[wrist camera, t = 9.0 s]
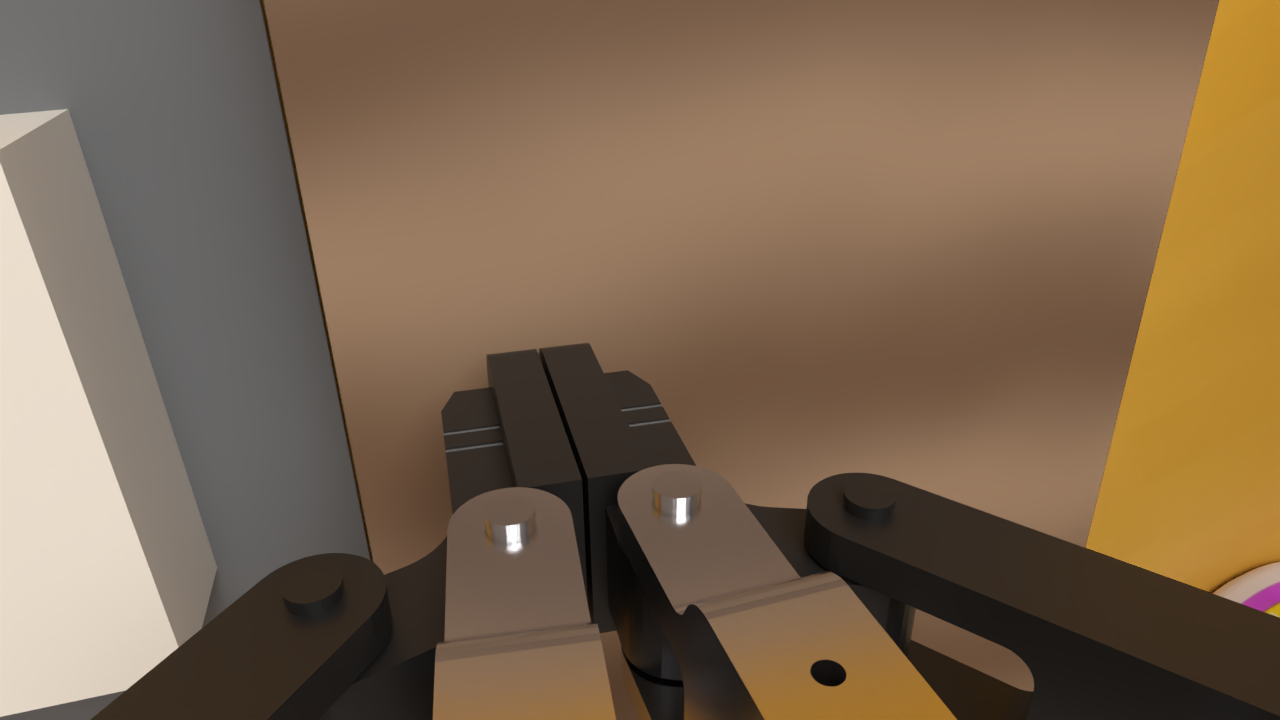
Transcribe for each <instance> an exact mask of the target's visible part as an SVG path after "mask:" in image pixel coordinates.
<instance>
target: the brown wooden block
mask: <svg viewBox="0 0 1280 720" xmlns="http://www.w3.org/2000/svg"><path fill="white" fill-rule="evenodd" d="M263 1H264V6H265V11H266V16H267V21H268V26H269V31H270V37H271V42H272V47H273V52H274V57H275V62H276V67H277V72H278V77H279V82H280V88H281V93H282V98H283V103H284V108H285V113H286V118H287V123H288V128H289V133H290V139H291V144H292V149H293V154H294V159H295V164H296V169H297V174H298V179H299V184H300V190H301V195H302V200H303V205H304V210H305V215H306V220H307V225H308V230H309V235H310V241H311V246H312V251H313V256H314V261H315V266H316V271H317V276H318V281H319V287H320V292H321V297H322V302H323V307H324V312H325V317H326V322H327V327H328V332H329V338H330V343H331V348H332V353H333V358H334V363H335V368H336V373H337V378H338V383H339V389H340V394H341V399H342V404H343V409H344V414H345V419H346V424H347V429H348V434H349V440H350V445H351V450H352V455H353V460H354V465H355V470H356V475H357V480H358V485H359V491H360V496H361V501H362V506H363V511H364V516H365V521H366V526H367V531H368V537H369V542H370V547H371V552H372V557H373V562H374V563H375V564H376V565H377V566H378V567H379V568H380V569H381V570H382V572H383V574H384V575H385V574H388V573H390V572H393V571H395V570H398V569H400V568H403V567H405V566H408V565H410V564H412V563H414V562H416V561H418V560H420V559H421V558H423V557H425V556H426V555H428V554H429V553H430V552H432V551H433V550H434V549H436V548H437V547H438V546H439V545H440V544H441V543H442V541H443V540H444V539H445V538H446V536H447V529H448V524H449V521H450V519H451V517H452V515H453V514H452V505H451V496H450V487H449V478H448V469H447V460H446V451H445V442H444V433H443V424H442V415H441V411H442V409H443V408H444V406H445V405H446V403H447V402H448V400H449V399H450V397H451V396H452V394H453V393H454V392H457V391H465V390H473V389H481V388H489V385H488V374H487V361H486V355H487V354H496V353H504V352H513V351H522V350H530V349H536V350H537V352H538V354H539V349H540V348H546V347H555V346H564V345H572V344H581V343H589V344H590V345H591V348H592V350H593V352H594V354H595V356H596V358H597V360H598V362H599V364H600V366H601V368H602V371H603V373H610V372H618V371H626V370H628V371H630V372H631V373H633V374H634V375H636V376H638V377H639V378H641V379H642V380H644V381H646V382H647V383H649V384H650V385H651V386H652V388H653V390H654V392H655V394H656V395H657V397H658V399H659V401H660V402H661V407H663V408H664V409H665V411H666V413H667V415H668V417H669V421H670V422H672V424H673V425H674V427H675V429H676V431H677V432H678V434H679V436H680V438H681V440H682V441H683V443H684V445H685V447H686V448H687V450H688V452H689V454H690V455H691V457H692V459H693V461H694V463H695V464H696V466H698V467H702V468H705V469H708V470H710V471H713V472H715V473H717V474H718V475H720V476H722V477H723V478H724V479H726V480H727V481H728V482H729V483H730V485H731V486H732V487H733V488H734V490H735V491H736V492H737V494H738V495H739V496H740V498H741V499H742V500H743V502H744V503H746V504H751V505H756V506H764V507H778V508H798V509H807V498H808V494H809V492H810V490H811V489H812V487H813V486H814V485H815V484H817V483H818V482H819V481H821V480H823V479H825V478H827V477H830V476H833V475H837V474H843V473H870V474H876V475H881V476H885V477H888V478H892V479H895V480H898V481H900V482H903V483H906V484H909V485H911V486H914V487H917V488H920V489H923V490H925V491H928V492H931V493H934V494H937V495H939V496H942V497H945V498H948V499H950V500H953V501H956V502H959V503H962V504H964V505H967V506H970V507H973V508H976V509H978V510H981V511H984V512H987V513H990V514H992V515H995V516H998V517H1001V518H1003V519H1006V520H1009V521H1012V522H1015V523H1017V524H1020V525H1023V526H1026V527H1029V528H1031V529H1034V530H1037V531H1040V532H1042V533H1045V534H1048V535H1051V536H1054V537H1056V538H1059V539H1062V540H1065V541H1068V542H1070V543H1073V544H1076V545H1079V546H1081V547H1084V548H1085V547H1086V543H1087V538H1088V534H1089V530H1090V526H1091V522H1092V518H1093V514H1094V510H1095V506H1096V502H1097V498H1098V494H1099V489H1100V485H1101V481H1102V477H1103V473H1104V469H1105V465H1106V461H1107V457H1108V453H1109V449H1110V445H1111V440H1112V436H1113V432H1114V428H1115V424H1116V420H1117V416H1118V412H1119V408H1120V404H1121V400H1122V395H1123V391H1124V387H1125V383H1126V379H1127V375H1128V371H1129V367H1130V363H1131V359H1132V355H1133V351H1134V346H1135V342H1136V338H1137V334H1138V330H1139V326H1140V322H1141V318H1142V314H1143V310H1144V306H1145V301H1146V297H1147V293H1148V289H1149V285H1150V281H1151V277H1152V273H1153V269H1154V265H1155V261H1156V257H1157V252H1158V248H1159V244H1160V240H1161V236H1162V232H1163V228H1164V224H1165V220H1166V216H1167V212H1168V207H1169V203H1170V199H1171V195H1172V191H1173V187H1174V183H1175V179H1176V175H1177V171H1178V167H1179V163H1180V158H1181V154H1182V150H1183V146H1184V142H1185V138H1186V134H1187V130H1188V126H1189V122H1190V118H1191V113H1192V109H1193V105H1194V101H1195V97H1196V93H1197V89H1198V85H1199V81H1200V77H1201V73H1202V69H1203V64H1204V60H1205V56H1206V52H1207V48H1208V44H1209V40H1210V36H1211V32H1212V28H1213V24H1214V19H1215V15H1216V11H1217V7H1218V3H1219V0H263ZM600 637H601V642H602V647H603V652H604V658H605V663H606V668H607V673H608V679H609V684H610V689H611V695H612V700H613V705H614V710H615V716H616V720H638V717H637V715H636V712H635V710H634V708H633V705H632V703H631V700H630V698H629V696H628V693H627V691H626V688H625V686H624V683H623V680H622V664H621V643H620V640H619V637H618V634H617V631H611V632H606V633H600ZM911 640H913V641H915V642H917V643H920V644H922V645H924V646H926V647H928V648H930V649H933V650H935V651H937V652H939V653H941V654H944V655H946V656H948V657H950V658H952V659H954V660H957V661H959V662H961V663H963V664H965V665H968V666H970V667H972V668H974V669H976V670H979V671H981V672H983V673H985V674H987V675H989V676H992V677H994V678H996V679H998V680H1000V681H1003V682H1005V683H1007V684H1009V685H1011V686H1013V687H1016V688H1018V689H1021V690H1025V691H1031V692H1033V691H1034V679H1033V676H1032V673H1031V671H1030V669H1029V668H1028V666H1027V665H1026V664H1025V662H1024V661H1023V660H1022V659H1021V658H1020V657H1019V656H1017V655H1016V654H1015V653H1014V652H1012V651H1011V650H1009V649H1007V648H1005V647H1003V646H1001V645H999V644H996V643H994V642H992V641H989V640H987V639H985V638H983V637H980V636H978V635H976V634H973V633H971V632H969V631H967V630H964V629H962V628H960V627H957V626H955V625H953V624H950V623H948V622H946V621H944V620H941V619H939V618H937V617H934V616H932V615H930V614H928V613H925V612H923V611H921V610H918V609H916V612H915V618H914V624H913V630H912V636H911Z"/></svg>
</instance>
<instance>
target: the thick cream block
mask: <svg viewBox="0 0 1280 720" xmlns="http://www.w3.org/2000/svg"><path fill="white" fill-rule="evenodd" d="M216 570H217V565H216V562H215V559H214V556H213V553H212V550H211V547H210V543H209V540H208V537H207V534H206V531H205V528H204V525H203V522H202V519H201V516H200V513H199V510H198V507H197V503H196V500H195V497H194V494H193V491H192V488H191V485H190V482H189V479H188V476H187V473H186V470H185V467H184V463H183V460H182V457H181V454H180V451H179V448H178V445H177V442H176V439H175V436H174V433H173V430H172V426H171V423H170V420H169V417H168V414H167V411H166V408H165V405H164V402H163V399H162V396H161V393H160V390H159V386H158V383H157V380H156V377H155V374H154V371H153V368H152V365H151V362H150V359H149V356H148V353H147V350H146V346H145V343H144V340H143V337H142V334H141V331H140V328H139V325H138V322H137V319H136V316H135V313H134V309H133V306H132V303H131V300H130V297H129V294H128V291H127V288H126V285H125V282H124V279H123V276H122V273H121V269H120V266H119V263H118V260H117V257H116V254H115V251H114V248H113V245H112V242H111V239H110V236H109V233H108V229H107V226H106V223H105V220H104V217H103V214H102V211H101V208H100V205H99V202H98V199H97V196H96V192H95V189H94V186H93V183H92V180H91V177H90V174H89V171H88V168H87V165H86V162H85V159H84V156H83V152H82V149H81V146H80V143H79V140H78V137H77V134H76V131H75V128H74V125H73V122H72V119H71V116H70V112H69V109H63V110H52V111H40V112H28V113H17V114H5V115H0V717H2V716H7V715H12V714H16V713H21V712H26V711H31V710H35V709H40V708H45V707H50V706H54V705H59V704H64V703H69V702H73V701H78V700H83V699H88V698H92V697H97V696H102V695H107V694H111V693H116V692H121V691H126V690H127V689H128V688H130V687H131V686H132V685H133V684H134V683H136V682H137V681H138V680H139V679H141V678H142V677H143V676H144V675H146V674H147V673H148V672H149V671H150V670H152V669H153V668H154V667H155V666H157V665H158V664H159V663H160V662H161V661H163V660H164V659H165V658H166V657H168V656H169V655H170V654H171V653H172V652H174V651H175V650H176V649H177V648H179V647H180V646H181V645H182V644H183V643H185V642H186V641H187V640H188V639H190V638H191V637H192V636H193V635H194V634H196V633H197V632H198V631H199V630H201V629H202V626H203V622H204V618H205V614H206V610H207V606H208V602H209V598H210V594H211V590H212V586H213V582H214V578H215V574H216Z"/></svg>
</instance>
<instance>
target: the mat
mask: <svg viewBox="0 0 1280 720" xmlns="http://www.w3.org/2000/svg"><path fill="white" fill-rule="evenodd" d="M63 109H69V112H70V116H71V119H72V122H73V125H74V128H75V131H76V134H77V137H78V140H79V143H80V146H81V149H82V152H83V156H84V159H85V162H86V165H87V168H88V171H89V174H90V177H91V180H92V183H93V186H94V189H95V192H96V196H97V199H98V202H99V205H100V208H101V211H102V214H103V217H104V220H105V223H106V226H107V229H108V233H109V236H110V239H111V242H112V245H113V248H114V251H115V254H116V257H117V260H118V263H119V266H120V269H121V273H122V276H123V279H124V282H125V285H126V288H127V291H128V294H129V297H130V300H131V303H132V306H133V309H134V313H135V316H136V319H137V322H138V325H139V328H140V331H141V334H142V337H143V340H144V343H145V346H146V350H147V353H148V356H149V359H150V362H151V365H152V368H153V371H154V374H155V377H156V380H157V383H158V386H159V390H160V393H161V396H162V399H163V402H164V405H165V408H166V411H167V414H168V417H169V420H170V423H171V426H172V430H173V433H174V436H175V439H176V442H177V445H178V448H179V451H180V454H181V457H182V460H183V463H184V467H185V470H186V473H187V476H188V479H189V482H190V485H191V488H192V491H193V494H194V497H195V500H196V503H197V507H198V510H199V513H200V516H201V519H202V522H203V525H204V528H205V531H206V534H207V537H208V540H209V543H210V547H211V550H212V553H213V556H214V559H215V562H216V565H217V570H216V574H215V578H214V582H213V586H212V590H211V594H210V598H209V602H208V606H207V610H206V614H205V618H204V622H203V626H202V628H203V627H204V626H205V625H207V624H208V623H209V622H210V621H212V620H213V619H214V618H215V617H216V616H218V615H219V614H220V613H221V612H223V611H224V610H225V609H226V608H227V607H229V606H230V605H231V604H232V603H234V602H235V601H236V600H237V599H238V598H240V597H241V596H242V595H243V594H245V593H246V592H247V591H248V590H249V589H251V588H252V587H253V586H254V585H256V584H257V583H258V582H259V581H260V580H262V579H263V578H264V577H266V576H267V575H269V574H270V573H271V572H273V571H275V570H276V569H278V568H280V567H282V566H284V565H286V564H288V563H291V562H293V561H296V560H299V559H302V558H305V557H309V556H313V555H318V554H326V553H346V554H353V555H358V556H361V557H364V558H366V559H369V560H370V561H372V557H371V552H370V547H369V542H368V537H367V532H366V527H365V522H364V517H363V512H362V507H361V501H360V496H359V491H358V486H357V481H356V476H355V471H354V466H353V461H352V456H351V451H350V446H349V440H348V435H347V430H346V425H345V420H344V415H343V410H342V405H341V400H340V395H339V390H338V385H337V379H336V374H335V369H334V364H333V359H332V354H331V349H330V344H329V339H328V334H327V329H326V324H325V318H324V313H323V308H322V303H321V298H320V293H319V288H318V283H317V278H316V273H315V268H314V263H313V257H312V252H311V247H310V242H309V237H308V232H307V227H306V222H305V217H304V212H303V207H302V201H301V196H300V191H299V186H298V181H297V176H296V171H295V166H294V161H293V156H292V151H291V146H290V140H289V135H288V130H287V125H286V120H285V115H284V110H283V105H282V100H281V95H280V90H279V85H278V79H277V74H276V69H275V64H274V59H273V54H272V49H271V44H270V39H269V34H268V29H267V24H266V18H265V13H264V8H263V3H262V0H0V115H5V114H17V113H28V112H40V111H52V110H63ZM123 692H125V691H121V692H116V693H111V694H107V695H102V696H97V697H92V698H88V699H83V700H78V701H73V702H69V703H64V704H59V705H54V706H50V707H45V708H40V709H35V710H31V711H26V712H21V713H16V714H12V715H7V716H2V717H0V720H90V719H92V718H93V717H94V716H95V715H97V714H98V713H99V712H100V711H101V710H103V709H104V708H105V707H106V706H108V705H109V704H110V703H111V702H112V701H114V700H115V699H116V698H117V697H119V696H120V695H121V694H122V693H123Z"/></svg>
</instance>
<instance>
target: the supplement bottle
mask: <svg viewBox="0 0 1280 720" xmlns="http://www.w3.org/2000/svg"><path fill="white" fill-rule="evenodd" d="M1212 594H1215V595H1218V596H1221V597H1224V598H1226V599H1229V600H1232V601H1235V602H1238V603H1240V604H1243V605H1246V606H1249V607H1251V608H1254V609H1257V610H1260V611H1263V612H1265V613H1268V614H1271V615H1274V616H1277V617H1279V618H1280V562H1276V563H1271V564H1267V565H1264V566H1261V567H1258V568H1256V569H1254V570H1251V571H1249V572H1247V573H1245V574H1243V575H1241V576H1239V577H1237V578H1235V579H1233V580H1231V581H1229V582H1228V583H1226V584H1225V585H1223V586H1222V587H1220V588H1219V589H1217V590H1216V591H1215V592H1213V593H1212Z"/></svg>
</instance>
